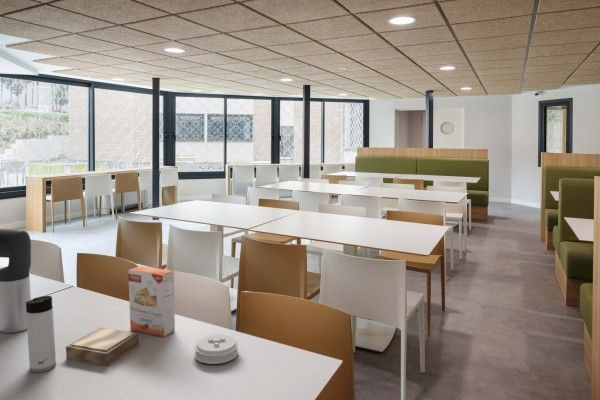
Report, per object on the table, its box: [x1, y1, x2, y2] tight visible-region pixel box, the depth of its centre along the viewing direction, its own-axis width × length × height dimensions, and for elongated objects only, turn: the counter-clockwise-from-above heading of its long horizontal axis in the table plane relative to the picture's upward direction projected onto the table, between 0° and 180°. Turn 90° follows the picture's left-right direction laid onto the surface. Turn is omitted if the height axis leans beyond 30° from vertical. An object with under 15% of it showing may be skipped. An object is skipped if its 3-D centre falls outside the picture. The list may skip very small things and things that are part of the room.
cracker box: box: [127, 265, 176, 338], centre depth 146 cm, size 14×6×21 cm, turn 68°
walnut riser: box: [65, 327, 140, 367], centre depth 133 cm, size 14×14×4 cm
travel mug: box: [26, 295, 57, 374], centre depth 122 cm, size 6×7×20 cm
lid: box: [194, 334, 239, 365], centre depth 131 cm, size 13×13×5 cm
